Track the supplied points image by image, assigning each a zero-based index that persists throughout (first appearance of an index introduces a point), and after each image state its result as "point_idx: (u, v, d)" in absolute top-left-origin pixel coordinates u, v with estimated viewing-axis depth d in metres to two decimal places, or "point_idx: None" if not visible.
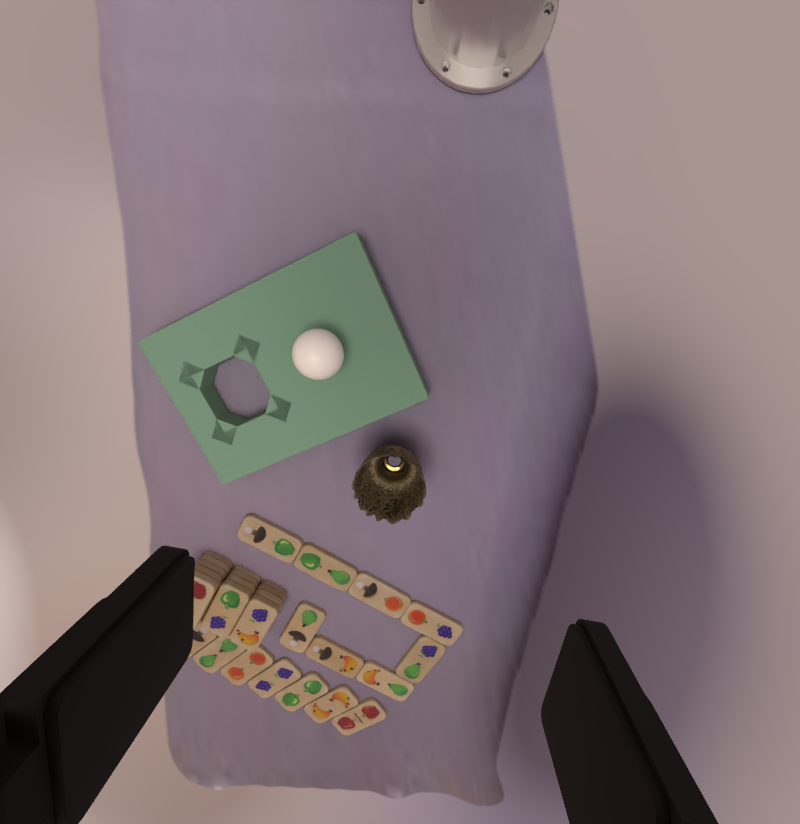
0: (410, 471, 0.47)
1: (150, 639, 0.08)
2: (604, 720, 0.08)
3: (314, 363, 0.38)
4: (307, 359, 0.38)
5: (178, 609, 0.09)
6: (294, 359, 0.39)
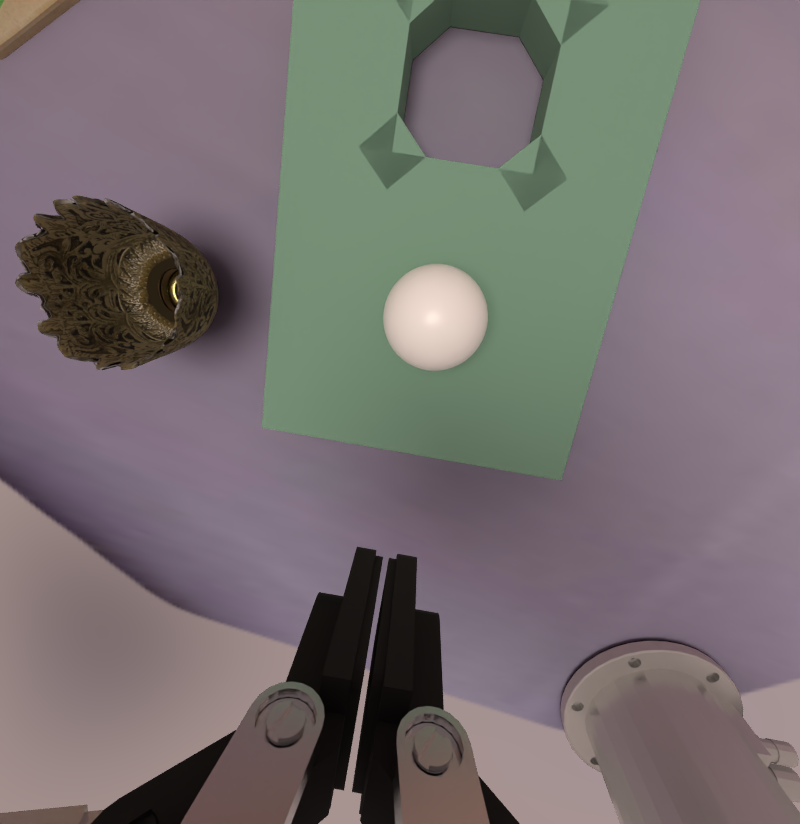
0: (153, 315, 0.24)
1: None
2: (378, 627, 0.09)
3: (422, 319, 0.17)
4: (438, 311, 0.17)
5: None
6: (455, 278, 0.18)
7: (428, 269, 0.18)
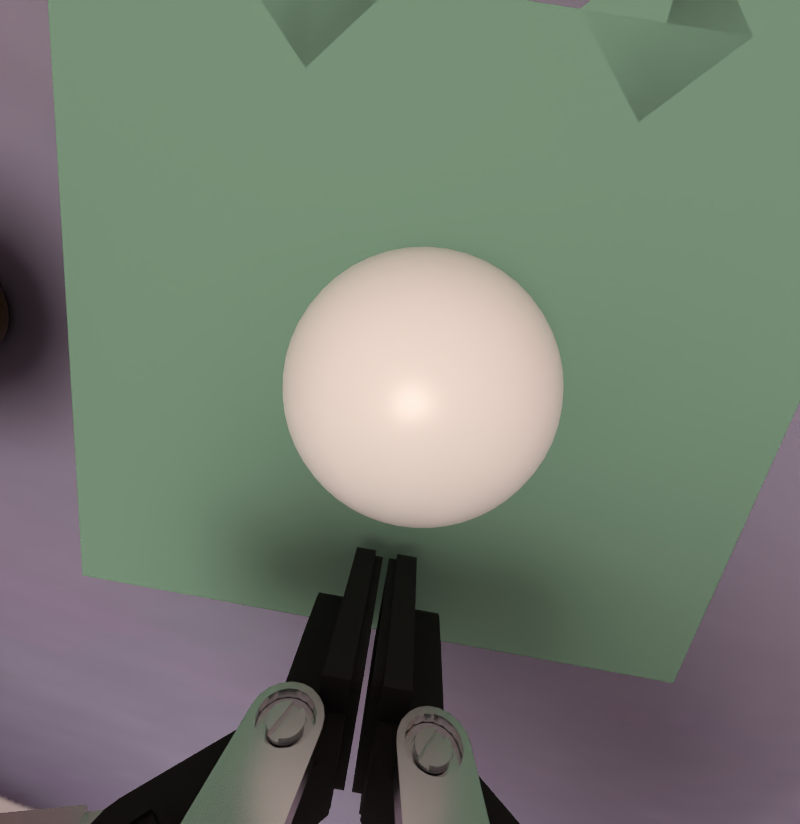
0: None
1: None
2: (378, 627, 0.09)
3: (375, 425, 0.05)
4: (427, 400, 0.05)
5: None
6: (480, 291, 0.06)
7: (398, 262, 0.06)
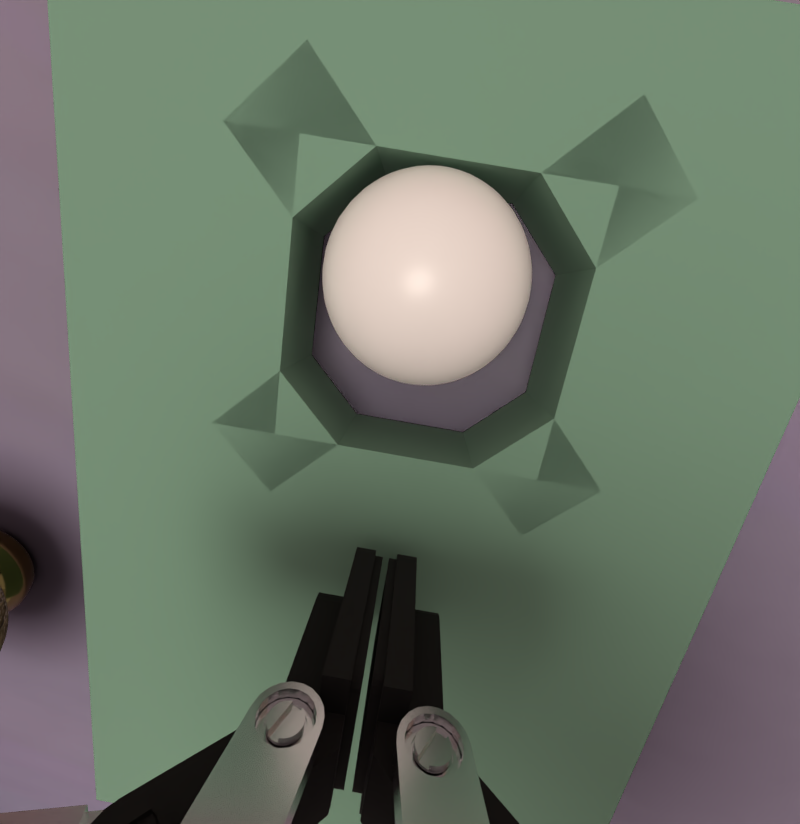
0: None
1: None
2: (378, 627, 0.09)
3: (386, 372, 0.10)
4: (413, 371, 0.09)
5: None
6: (453, 310, 0.08)
7: (396, 271, 0.08)
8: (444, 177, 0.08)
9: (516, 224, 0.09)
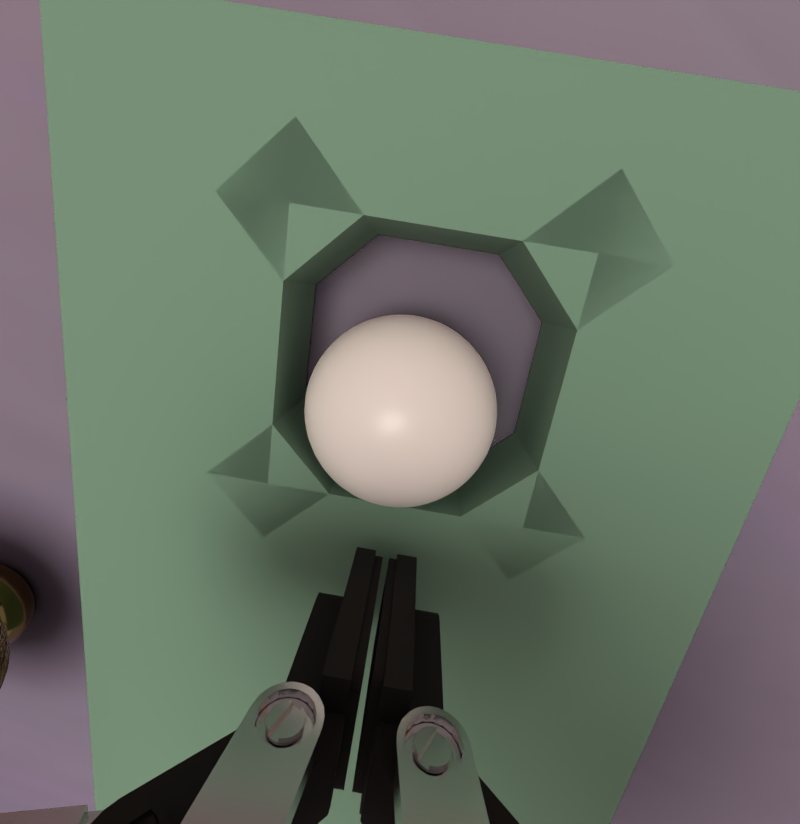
0: None
1: None
2: (378, 627, 0.09)
3: None
4: None
5: None
6: (409, 505, 0.10)
7: (361, 491, 0.10)
8: (397, 421, 0.08)
9: (471, 436, 0.09)
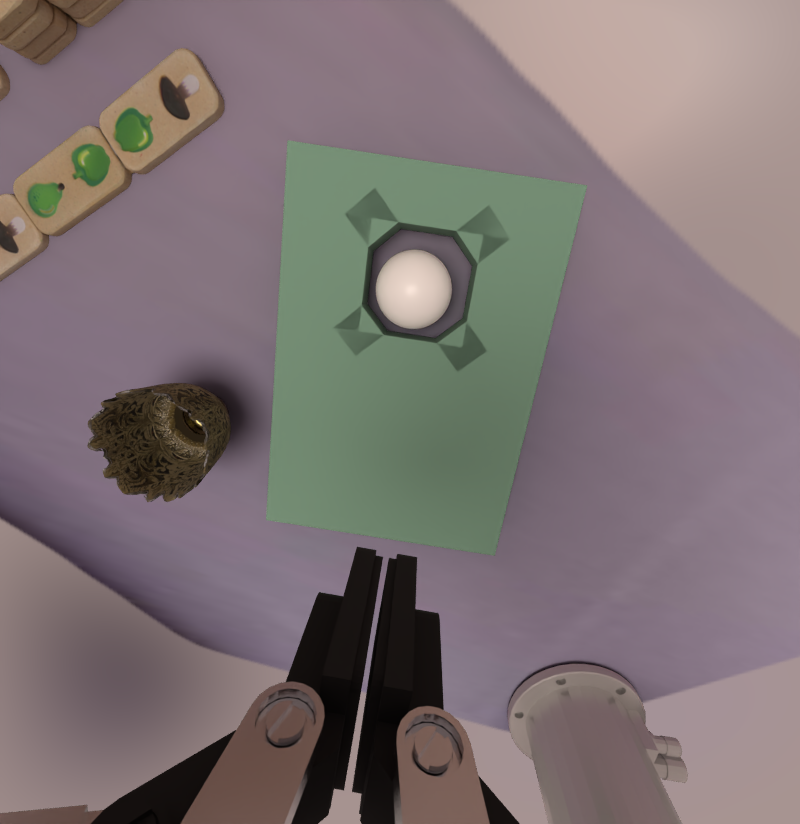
0: (179, 437, 0.31)
1: None
2: (378, 627, 0.09)
3: None
4: (408, 328, 0.27)
5: None
6: (419, 317, 0.26)
7: (401, 307, 0.25)
8: (415, 272, 0.25)
9: (441, 283, 0.25)
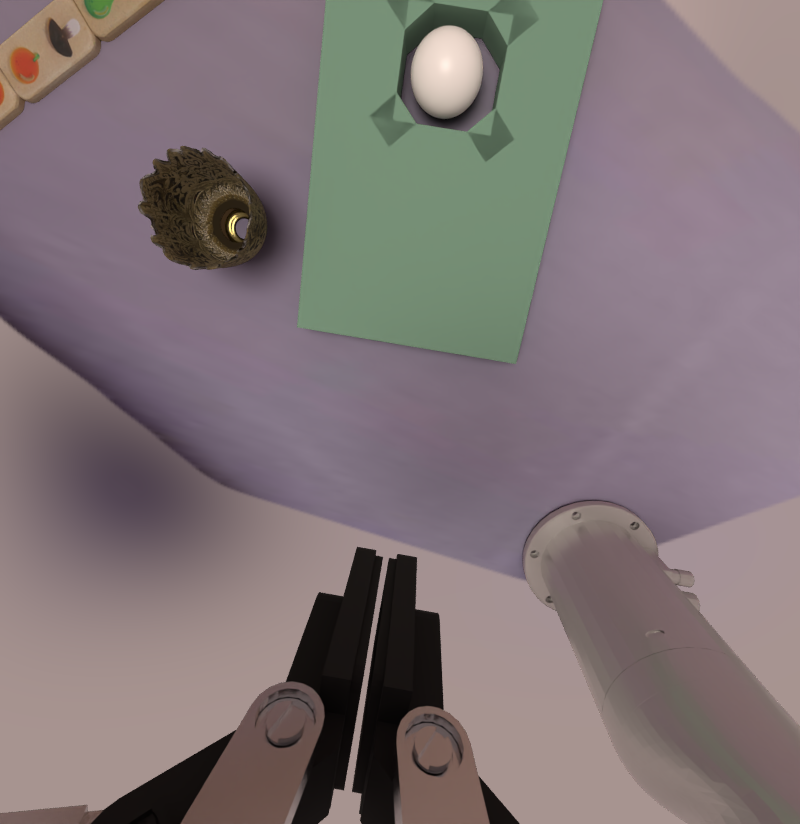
0: (217, 243, 0.33)
1: None
2: (378, 627, 0.09)
3: (432, 111, 0.29)
4: (441, 110, 0.29)
5: None
6: (453, 84, 0.27)
7: (436, 71, 0.27)
8: (452, 33, 0.26)
9: (475, 50, 0.27)
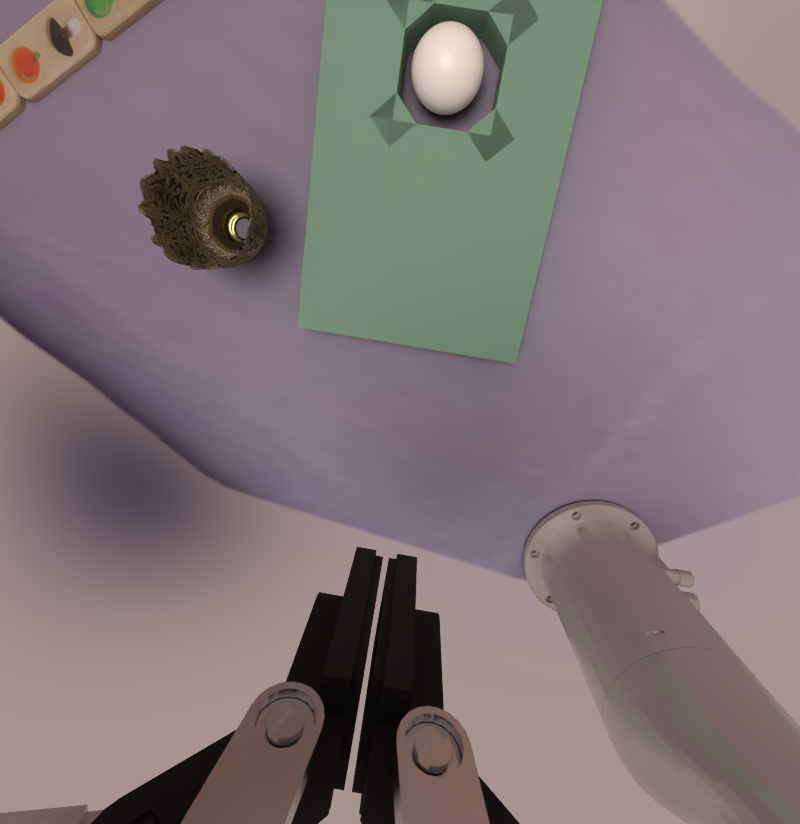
0: (217, 243, 0.33)
1: None
2: (378, 627, 0.09)
3: (433, 106, 0.29)
4: (442, 103, 0.28)
5: None
6: (455, 75, 0.27)
7: (438, 62, 0.26)
8: (453, 27, 0.26)
9: (476, 43, 0.27)
